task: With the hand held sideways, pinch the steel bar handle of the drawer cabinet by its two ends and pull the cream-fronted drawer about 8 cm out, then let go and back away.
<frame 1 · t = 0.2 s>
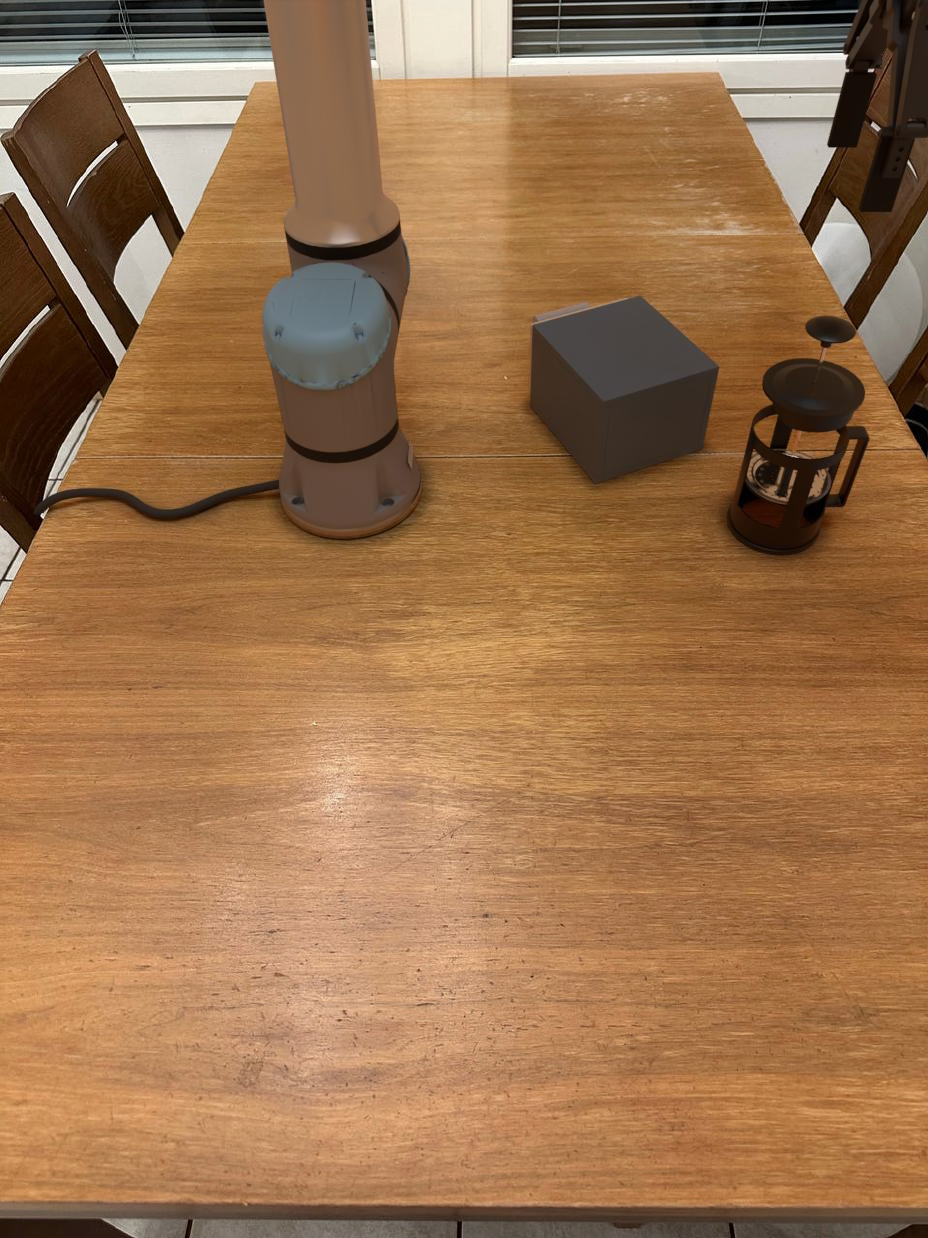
hand: (857, 176, 88), 28 cm above the table, tool pointing down, fingers open, 13 cm apart
drawer: (597, 365, 108), point 5 cm above the table, slide at 0.5 cm
french press: (777, 524, 98), on the table
cabinet: (613, 426, 109), on the table
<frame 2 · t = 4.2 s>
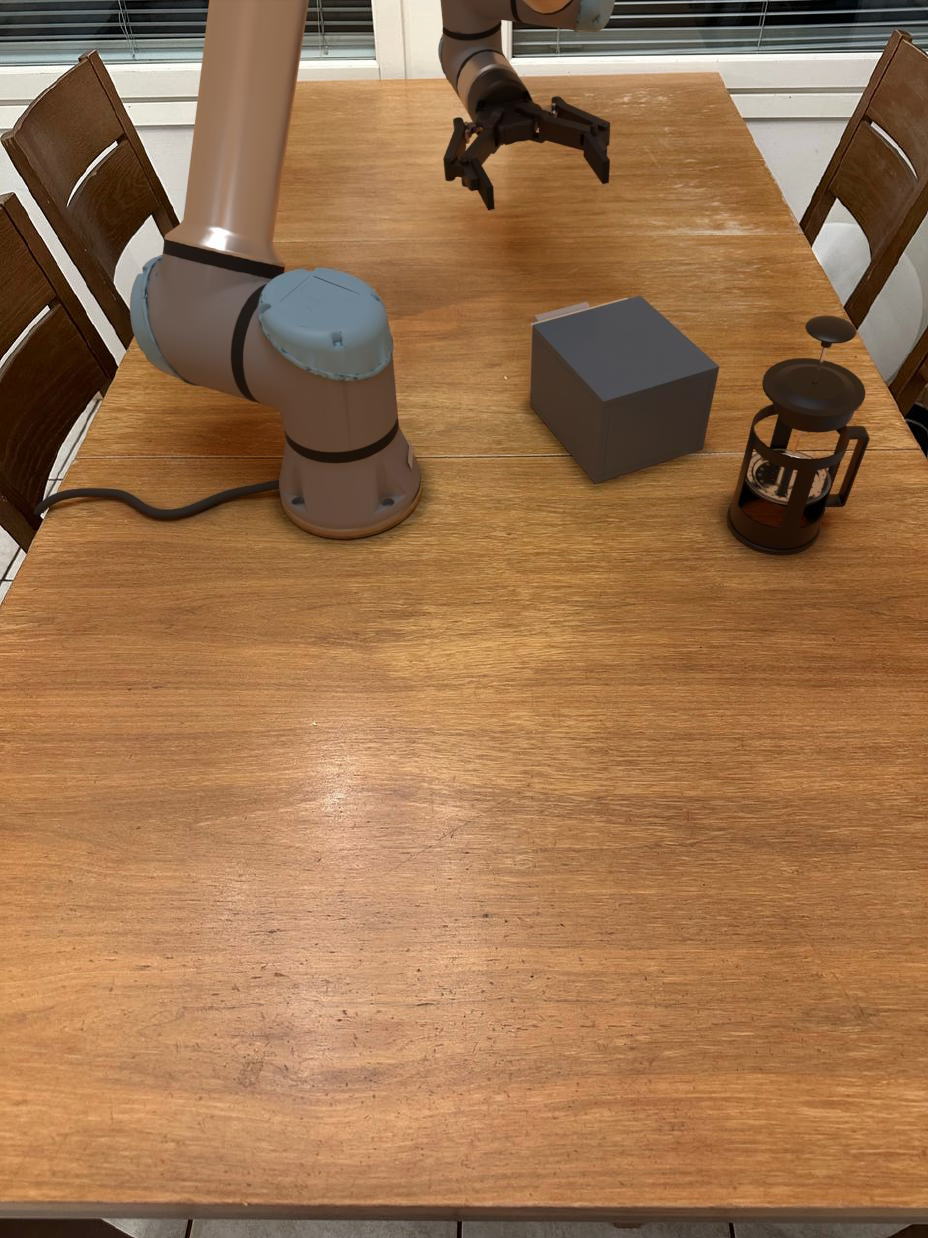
hand: (549, 185, 106), 20 cm above the table, tool horizontal, fingers open, 13 cm apart
nothing on the table moved.
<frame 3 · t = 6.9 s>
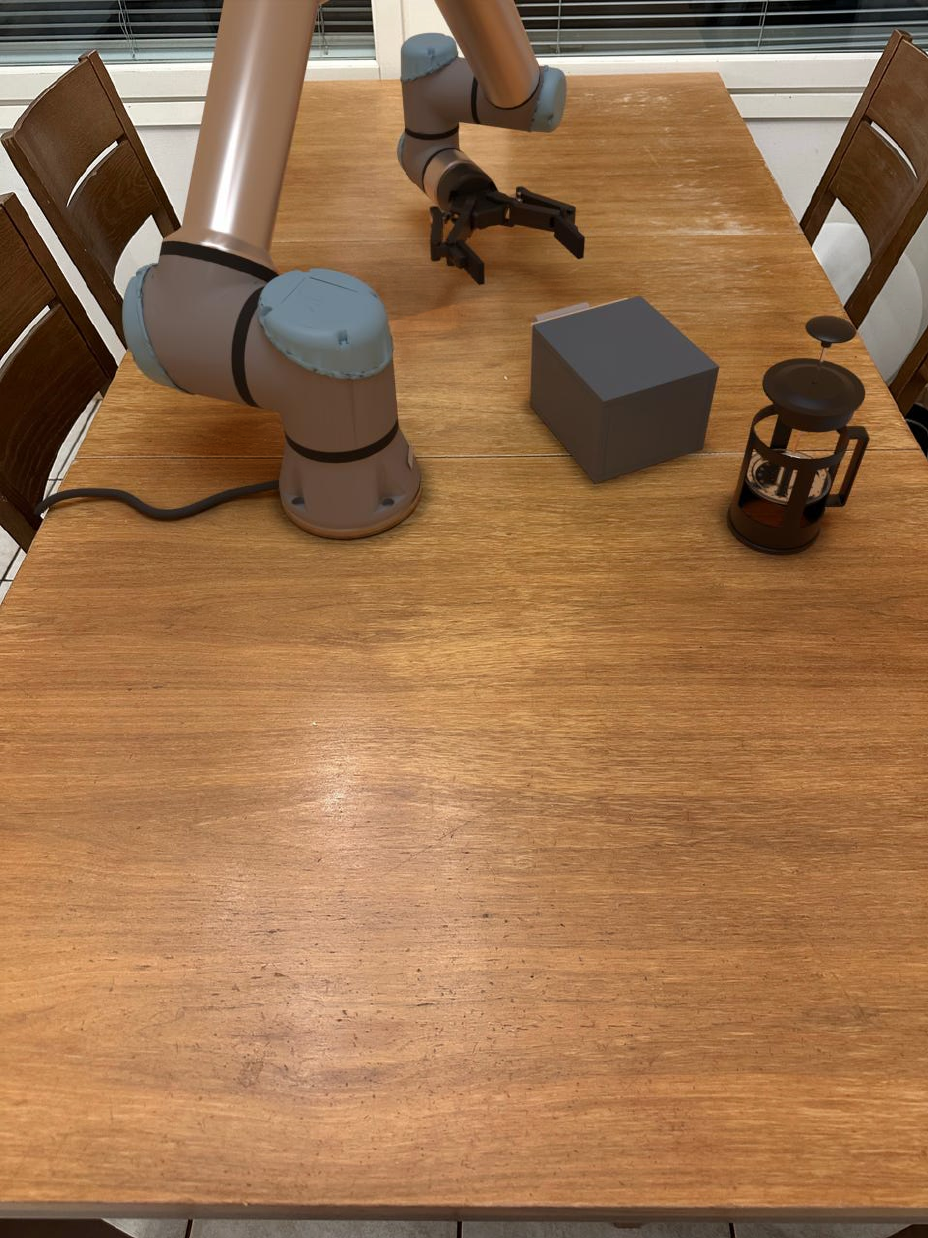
hand: (532, 261, 115), 10 cm above the table, tool horizontal, fingers open, 13 cm apart
nothing on the table moved.
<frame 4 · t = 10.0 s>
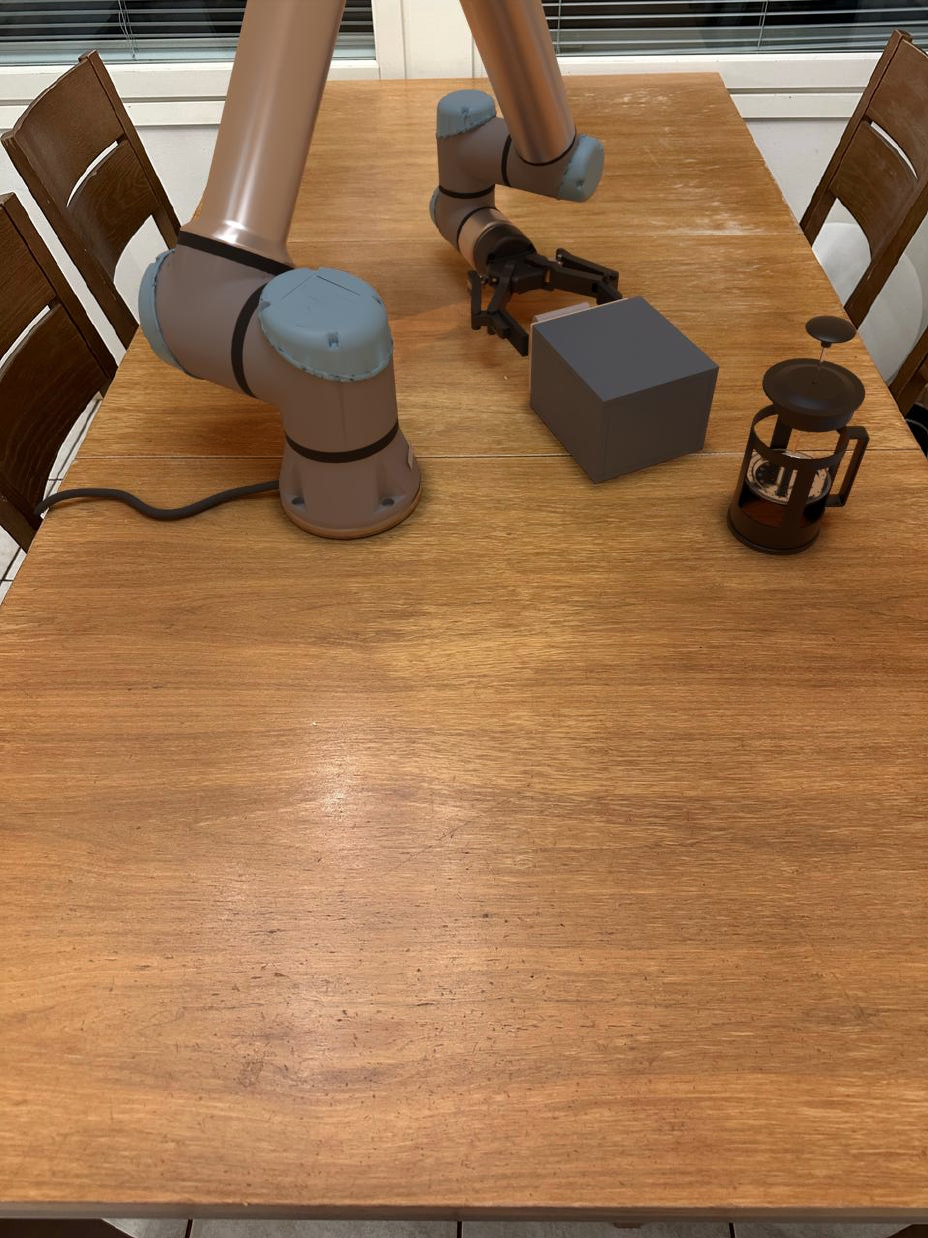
hand: (577, 331, 110), 7 cm above the table, tool horizontal, fingers closed on drawer, 13 cm apart
drawer: (597, 365, 108), point 5 cm above the table, slide at 0.4 cm, touching gripper
everything else where it was.
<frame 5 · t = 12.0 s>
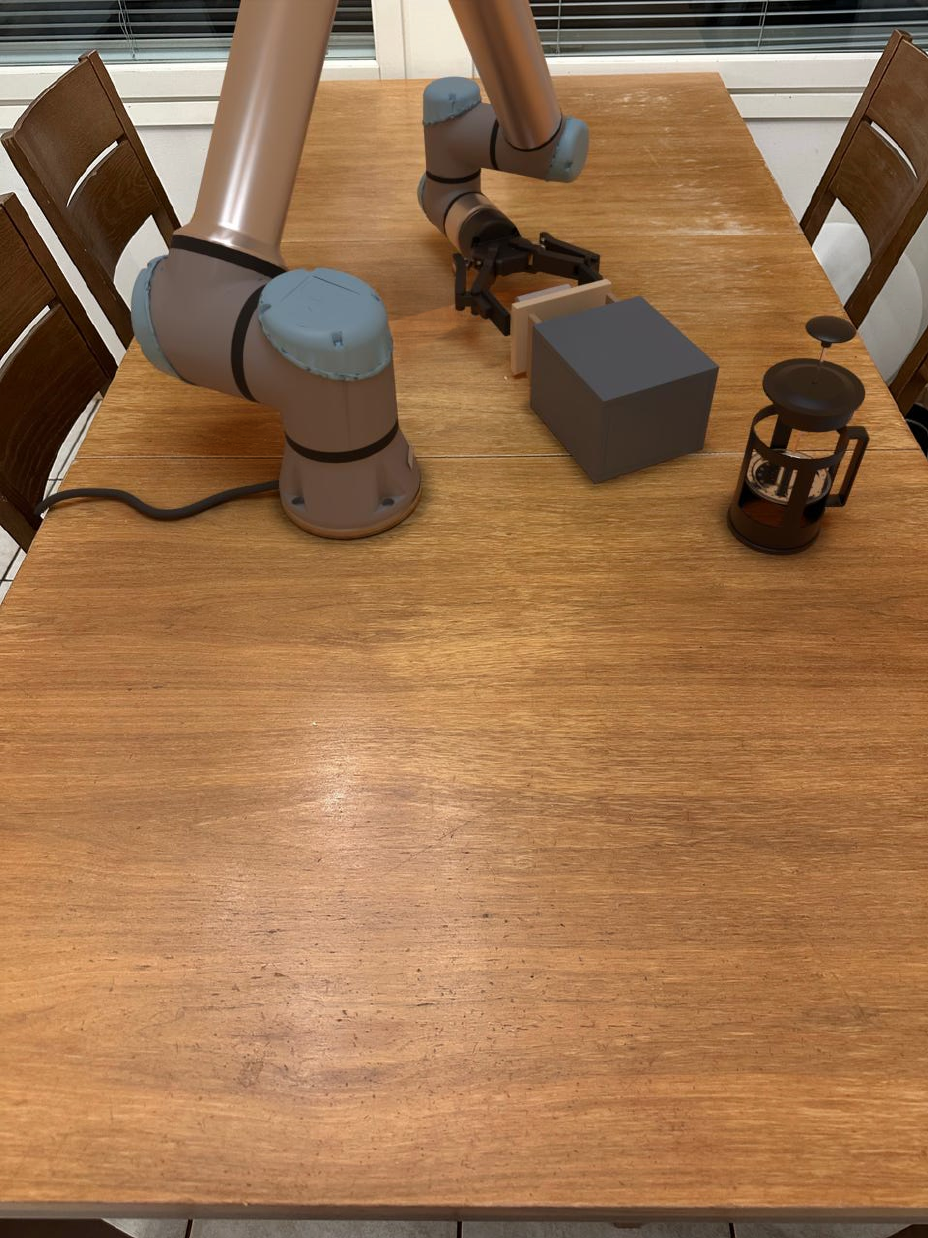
hand: (558, 312, 113), 7 cm above the table, tool horizontal, fingers closed on drawer, 13 cm apart
drawer: (577, 344, 111), point 5 cm above the table, slide at 5.2 cm, touching gripper
everything else where it was.
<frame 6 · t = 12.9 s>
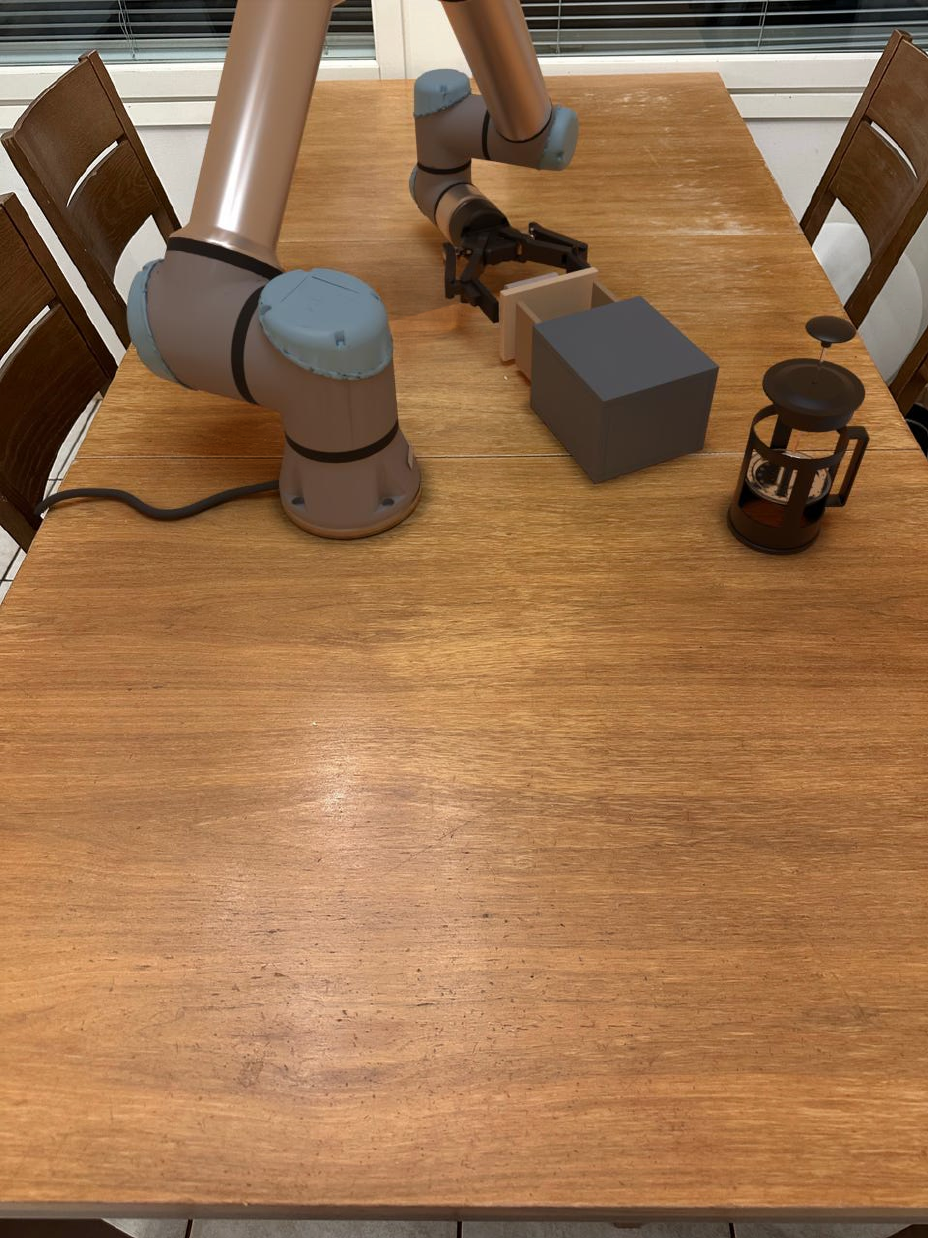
hand: (546, 299, 115), 7 cm above the table, tool horizontal, fingers closed on drawer, 13 cm apart
drawer: (564, 331, 113), point 5 cm above the table, slide at 8.4 cm, touching gripper
everything else where it was.
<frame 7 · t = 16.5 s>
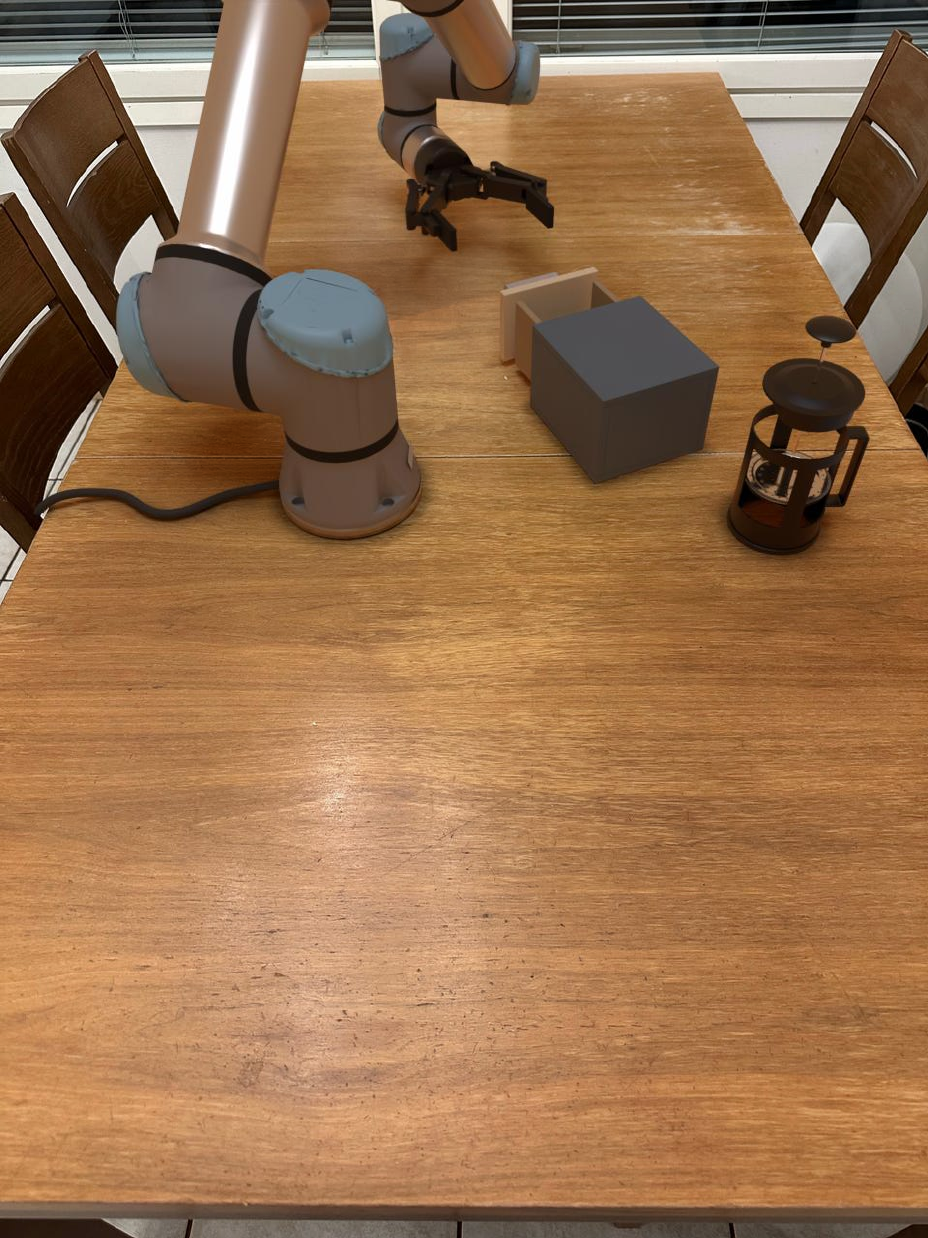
hand: (503, 229, 119), 11 cm above the table, tool horizontal, fingers open, 13 cm apart
drawer: (564, 331, 113), point 5 cm above the table, slide at 8.4 cm
everything else where it was.
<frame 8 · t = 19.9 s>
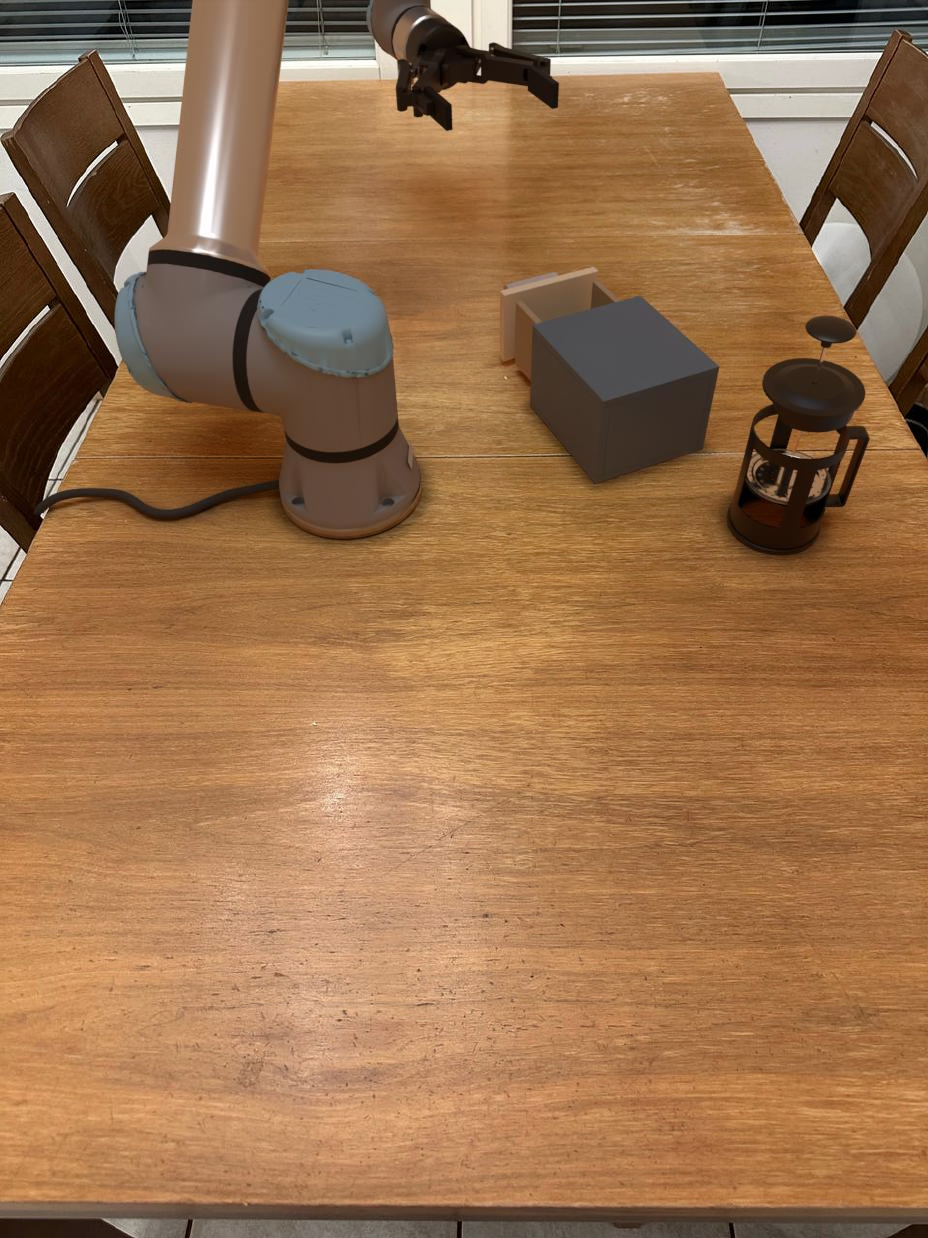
hand: (503, 106, 109), 25 cm above the table, tool horizontal, fingers open, 13 cm apart
nothing on the table moved.
at the end: drawer slide at 8.4 cm; the gripper is holding nothing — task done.
